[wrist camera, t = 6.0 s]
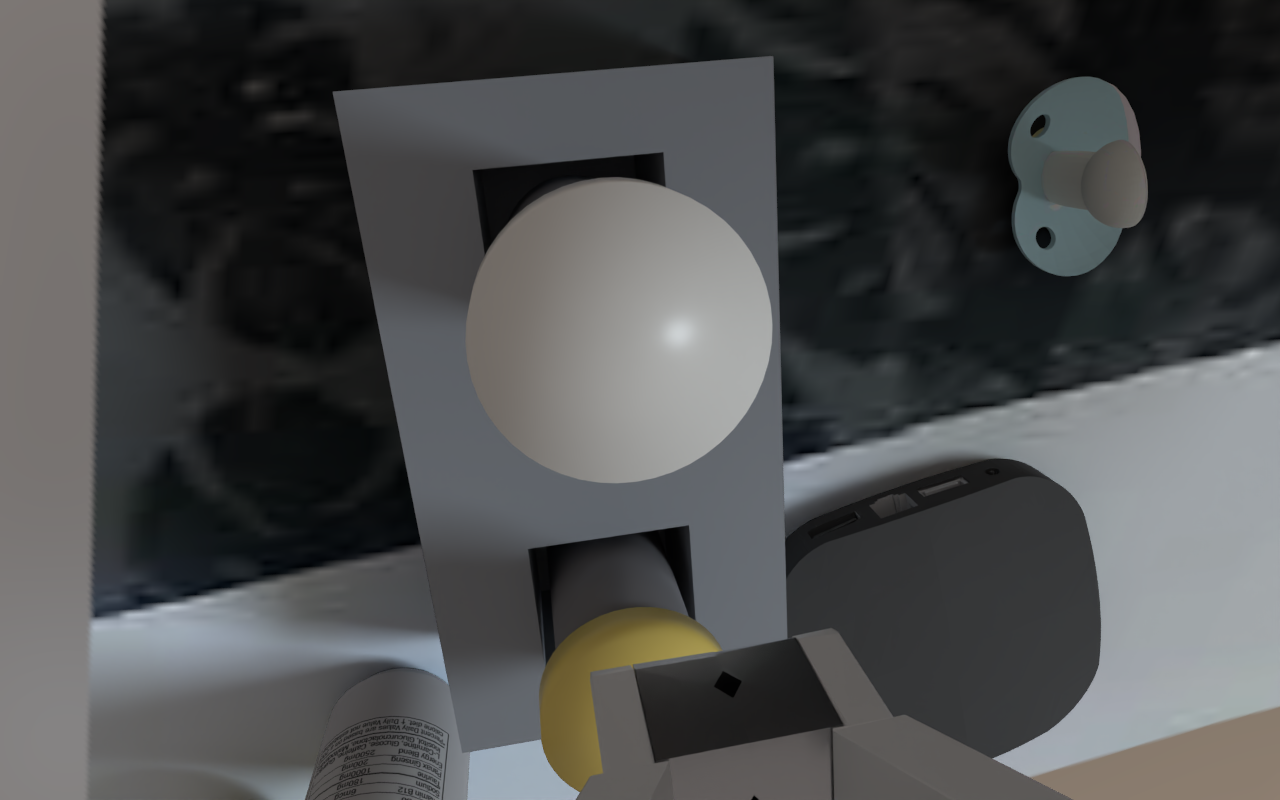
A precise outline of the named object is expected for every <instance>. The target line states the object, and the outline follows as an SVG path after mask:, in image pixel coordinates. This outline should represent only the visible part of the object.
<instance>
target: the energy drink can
mask: <svg viewBox="0 0 1280 800" xmlns="http://www.w3.org/2000/svg"><path fill="white" fill-rule="evenodd" d="M469 760H470V752H466V753H462V749H461V744H460V739H459V734H458V729H457V724H456V719H455V714H454V708H453V703H452V698H451V693H450V688H449V685H448V684H447V683H446V682H445V681H443V680H442V679H440V678H439V677H437V676H436V675H433V674H431V673H429V672H426V671H423V670H418V669H412V668H398V669H390V670H386V671H382V672H380V673H377V674H375V675H373V676H371V677H369V678H368V679H365V680H363V681H361V682H359V683H358V684H356V685H355V686H353V687H352V688H350V689H349V690H348V691H347V692H346V693H345V694H344V695H343V696H342V697H341V698H340V699H339V700H338V702H337V703H336V705H335V706H334V708H333V709H332V712H331V715H330V718H329V721H328V724H327V727H326V731H325V734H324V737H323V741H322V744H321V748H320V751H319V754H318V758H317V761H316V764H315V768H314V771H313V774H312V778H311V781H310V785H309V788H308V791H307V795H306V798H305V800H467V793H468V776H469Z"/></svg>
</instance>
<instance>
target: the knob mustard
mask: <svg viewBox="0 0 1280 800" xmlns="http://www.w3.org/2000/svg"><path fill="white" fill-rule="evenodd" d="M546 548H547V559H548V570H549V581H550V593H551V604H552V615H553V626H554V638H555V649H556V650H555V651H554V653H553V654H552V656H551V657H550V659H549V661H548V662H547V664H546V667H545V669H544V672H543V674H542V678H541V682H540V688H539V708H540V727H541V741H542V745H543V750H544V753H545V755H546V757H547V760H548V762H549V763H550V765H551V767H552V768H553V770H554V771H555V772H556V773H557V774H558V776H559V777H560V778H561V779H562V780H563V781H565V782H566V783H567V784H568V785H569V786H571V787H572V788H574V789H576V790H577V791H579V792H581V790H582V789H583V787H584V786H585V784H586V782H587V781H588V779H589V777H590V776H593V775H597V774H602V773H603V769H602V762H601V755H600V748H599V741H598V734H597V726H596V719H595V712H594V705H593V698H592V691H591V684H590V672H593V671H599V670H605V669H610V668H616V667H622V666H628V665H631V667H632V668H633V664H639V663H645V662H651V661H658V660H664V659H670V658H677V657H683V656H689V655H696V654H702V653H708V652H718V651H722V649H721V646H720V645H719V643H718V642H717V640H716V639H715V637H714V636H713V635H712V634H711V633H710V632H709V631H708V630H707V629H706V628H705V627H704V626H702V625H701V624H700V623H698V622H697V621H695V620H694V619H692V618H690V617H689V616H688V613H687V610H686V607H685V605H684V602H683V599H682V596H681V594H680V591H679V588H678V585H677V582H676V580H675V577H674V574H673V571H672V569H671V566H670V563H669V560H668V558H667V555H666V552H665V549H664V547H663V544H662V541H661V538H660V536H659V533H658V530H653V531H646V532H640V533H633V534H626V535H619V536H613V537H606V538H599V539H592V540H585V541H579V542H572V543H565V544H558V545H552V546H546Z"/></svg>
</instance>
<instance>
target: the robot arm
mask: <svg viewBox="0 0 1280 800" xmlns="http://www.w3.org/2000/svg"><path fill="white" fill-rule="evenodd" d="M590 684H591V691H592V698H593V705H594V712H595V719H596V726H597V734H598V741H599V748H600V755H601V762H602V769H603V773H602V774H597V775H593V776H590V777H589V779H588V781H587V782H586V784H585V786H584V787H583V789H582V790H581V792H580V794H579V795H578V797H577V799H576V800H1072V799H1071V798H1069V797H1067V796H1065V795H1063V794H1061V793H1059V792H1057V791H1055V790H1053V789H1051V788H1049V787H1047V786H1045V785H1043V784H1041V783H1039V782H1037V781H1035V780H1033V779H1031V778H1029V777H1027V776H1025V775H1023V774H1021V773H1019V772H1017V771H1015V770H1013V769H1011V768H1010V767H1008V766H1006V765H1004V764H1002V763H1000V762H998V761H996V760H994V759H992V758H990V757H988V756H986V755H984V754H982V753H980V752H978V751H976V750H974V749H972V748H970V747H968V746H966V745H964V744H962V743H960V742H958V741H956V740H954V739H952V738H950V737H948V736H946V735H944V734H942V733H941V732H939V731H937V730H935V729H933V728H931V727H929V726H927V725H925V724H923V723H921V722H919V721H917V720H915V719H913V718H911V717H909V716H907V715H901V716H896V717H893V716H892V714H891V712H890V711H889V709H888V708H887V706H886V705H885V703H884V702H883V700H882V699H881V697H880V696H879V694H878V692H877V691H876V689H875V688H874V686H873V685H872V683H871V682H870V680H869V679H868V677H867V676H866V674H865V672H864V671H863V669H862V668H861V666H860V665H859V663H858V662H857V660H856V659H855V657H854V655H853V654H852V652H851V651H850V649H849V648H848V646H847V645H846V643H845V642H844V640H843V639H842V637H841V635H840V634H839V632H838V631H836V630H834V629H832V628H829V629H824V630H820V631H815V632H810V633H805V634H801V635H796V636H792V638H788V639H782V640H777V641H772V642H766V643H761V644H755V645H750V646H745V647H739V648H734V649H729V650H723V651H718V652H708V653H702V654H696V655H689V656H683V657H677V658H670V659H664V660H658V661H651V662H645V663H639V664H633V668H632V667H631V665H628V666H622V667H616V668H610V669H605V670H599V671H593V672H590Z"/></svg>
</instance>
